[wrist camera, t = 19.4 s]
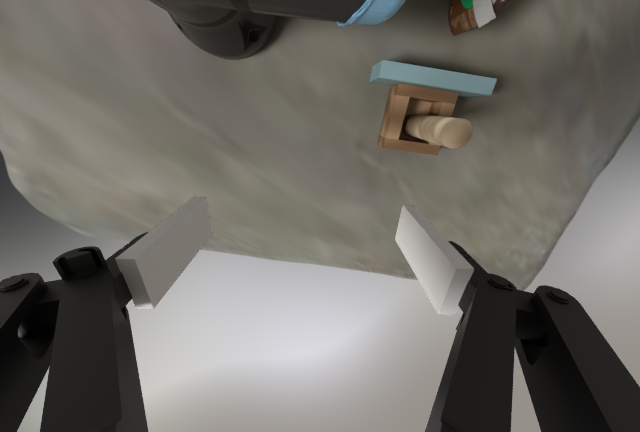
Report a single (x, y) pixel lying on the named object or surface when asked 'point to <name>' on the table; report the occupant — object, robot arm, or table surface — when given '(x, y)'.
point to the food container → (472, 13)
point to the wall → (432, 78)
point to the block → (413, 102)
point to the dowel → (438, 129)
